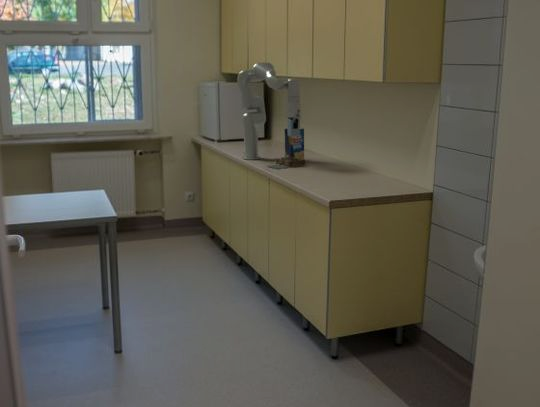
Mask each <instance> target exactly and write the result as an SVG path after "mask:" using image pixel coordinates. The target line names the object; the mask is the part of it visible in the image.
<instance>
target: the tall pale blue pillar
mask: <svg viewBox="0 0 540 407" xmlns="http://www.w3.org/2000/svg"><path fill="white" fill-rule="evenodd" d="M286 122H287V129H288V136H299V135H300V128H301V119H299V122H298V129H293V122H294V119H292V120H289V119H287V120H286Z"/></svg>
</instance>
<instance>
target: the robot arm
mask: <svg viewBox="0 0 540 407" xmlns="http://www.w3.org/2000/svg"><path fill="white" fill-rule="evenodd" d="M276 76H277V73H276V70H275V68H274V65H273V64H272V63H271V62H267V61H266V62H263V61H262V62H256V63H255V64H254V65H253V66H252V68H248V69H243V70H241V71H239V73H238V74H237V79H236V80H237V85H238V88H239V89H238V90H239V94H240V101H241V106H242V109H243V110H245V111H248V112H245V113H243V115H241V116H242V117H241V122H242V123H241V124H242V127H243V143H244V144H243V145H244V147H243V149H244V151H243V156H242V158H241V159H243V160H251V161H252V160H259V159H261V158H262V157H261V155H259V133H258V130H257V128H256V127H258V126H262V125H265V123H266V121H267V114H266V107H265V101H264V98H263V97H262V96H261V95H254V91H253V88H252V86H251V84H250V83H258V82H259V83H260V82H262V81H265V83H266V84H267V86H268V87H269V88H271V89H273V90H275V91H287V101H286V106H285V116H286V117H287V120H292V119H294V122H293V129H298V122H299V120H301V118H302V117H301V115H302V114H301V112H302V111H301V101H300V99H301V97H300V96H301V95H300V92H301V88H300V84H301V83H300V79H299V78H291V77H278V78H277V77H276Z"/></svg>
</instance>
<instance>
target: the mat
mask: <svg viewBox="0 0 540 407" xmlns="http://www.w3.org/2000/svg"><path fill="white" fill-rule="evenodd" d="M266 167H267V168H270V167H271V169H274V168H275V170H282V169H281V168H284V169H289V168H290V167H287V166H282V165H278V164H272V165H271V164H270V165H267V166H266Z"/></svg>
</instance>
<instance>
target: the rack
mask: <svg viewBox="0 0 540 407" xmlns="http://www.w3.org/2000/svg"><path fill="white" fill-rule="evenodd" d="M291 160H292V162H291V161H286V160H282V159H281V158H275V165H278V164H279V165H283V166H286V167H289V168H297V167H296V166H298V167H302V166H303V167H304V165H305V166H306V160H305V159H304V160H303V159H298V158H293V157H291Z"/></svg>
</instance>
